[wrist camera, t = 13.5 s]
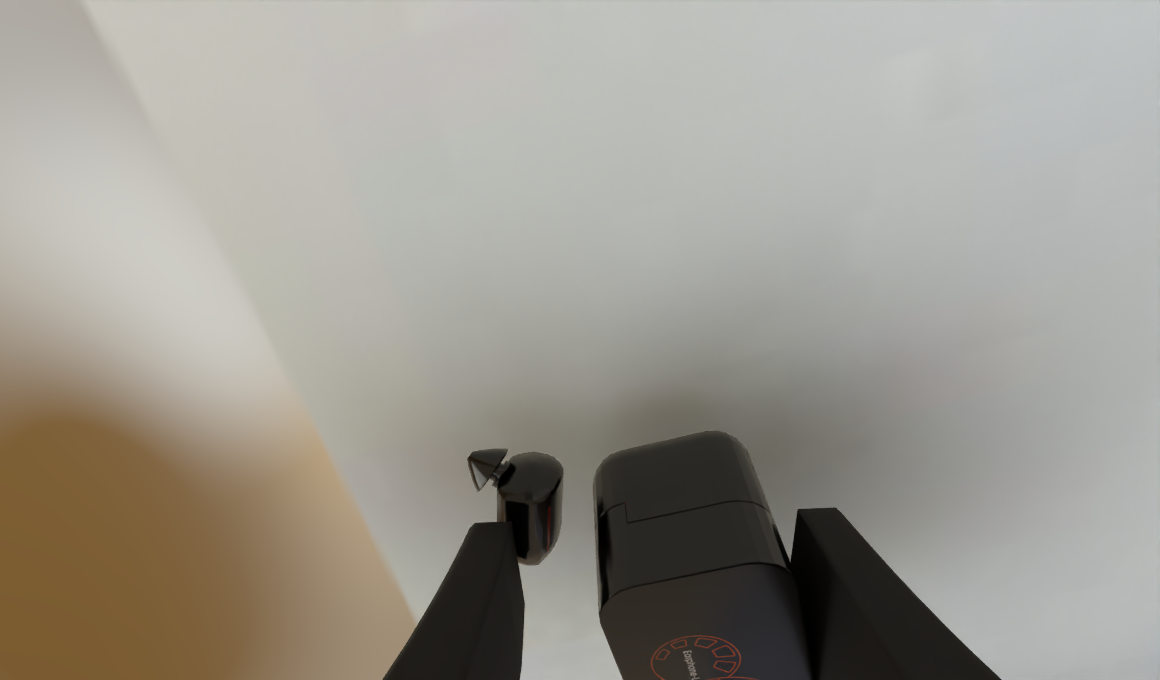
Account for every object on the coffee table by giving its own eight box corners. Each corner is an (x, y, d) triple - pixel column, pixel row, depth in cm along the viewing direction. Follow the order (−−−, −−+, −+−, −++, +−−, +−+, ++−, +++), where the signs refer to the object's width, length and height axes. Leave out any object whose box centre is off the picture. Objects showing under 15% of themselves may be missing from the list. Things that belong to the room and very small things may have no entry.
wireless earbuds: (729, 371, 11) (786, 510, 8) (780, 634, 14) (833, 797, 11) (469, 433, 11) (437, 583, 9) (578, 672, 15) (580, 836, 12)
